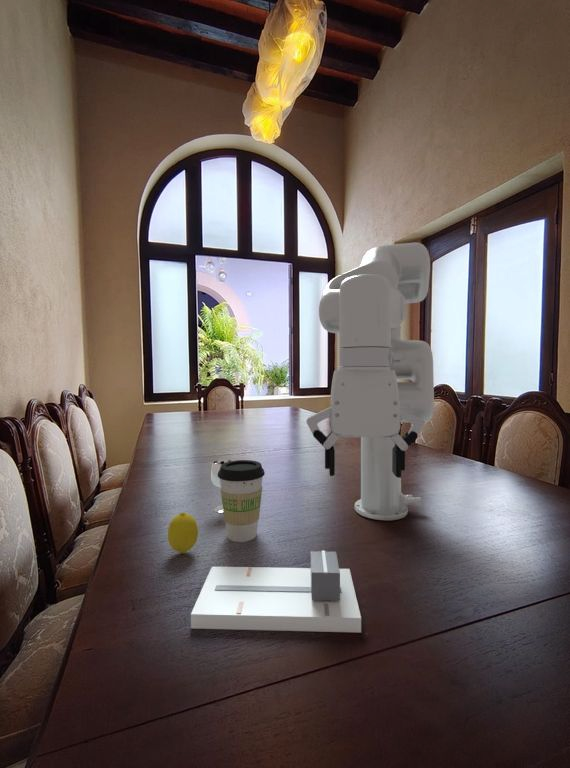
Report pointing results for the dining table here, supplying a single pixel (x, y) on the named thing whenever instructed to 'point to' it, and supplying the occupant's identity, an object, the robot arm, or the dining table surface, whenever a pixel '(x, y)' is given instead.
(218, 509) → the wineglass
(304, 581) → the fader board
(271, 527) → the dining table surface
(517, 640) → the dining table surface
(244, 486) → the coffee cup
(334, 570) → the fader
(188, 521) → the lemon
